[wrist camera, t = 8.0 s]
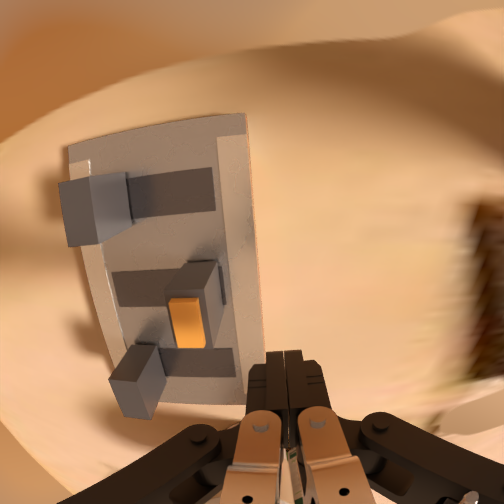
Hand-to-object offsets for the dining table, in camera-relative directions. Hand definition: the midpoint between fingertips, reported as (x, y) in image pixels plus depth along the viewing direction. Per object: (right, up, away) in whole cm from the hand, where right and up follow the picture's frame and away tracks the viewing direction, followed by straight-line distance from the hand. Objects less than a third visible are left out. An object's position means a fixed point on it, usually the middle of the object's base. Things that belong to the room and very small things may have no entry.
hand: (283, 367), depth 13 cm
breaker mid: (-5, +2, +10) cm, 11 cm away
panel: (-8, +3, +12) cm, 15 cm away
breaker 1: (-11, +9, +9) cm, 17 cm away
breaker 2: (-10, -5, +12) cm, 17 cm away
